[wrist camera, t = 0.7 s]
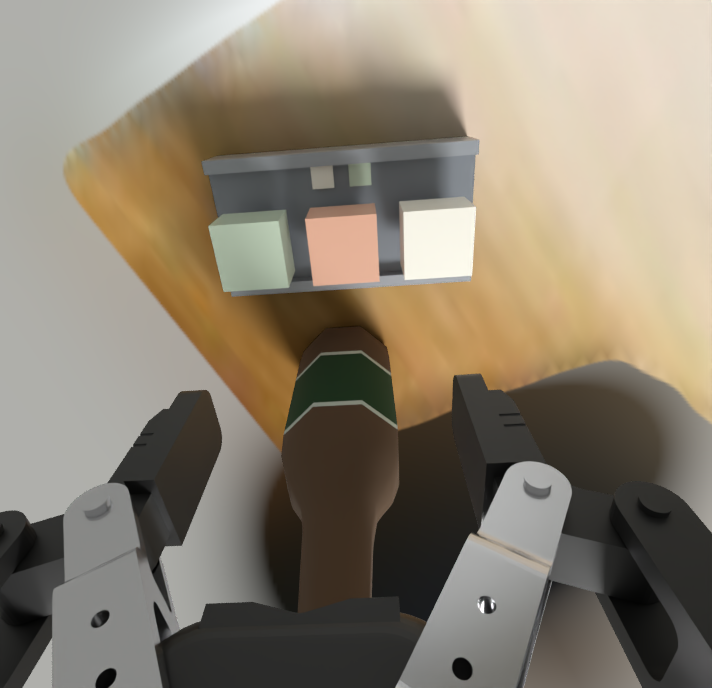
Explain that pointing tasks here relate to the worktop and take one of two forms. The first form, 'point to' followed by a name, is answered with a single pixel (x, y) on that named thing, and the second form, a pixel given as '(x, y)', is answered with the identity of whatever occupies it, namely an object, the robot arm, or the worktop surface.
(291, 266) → the key sage
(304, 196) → the grey tray
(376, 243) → the key terracotta
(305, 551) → the beer bottle
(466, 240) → the key ivory
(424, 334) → the worktop surface
